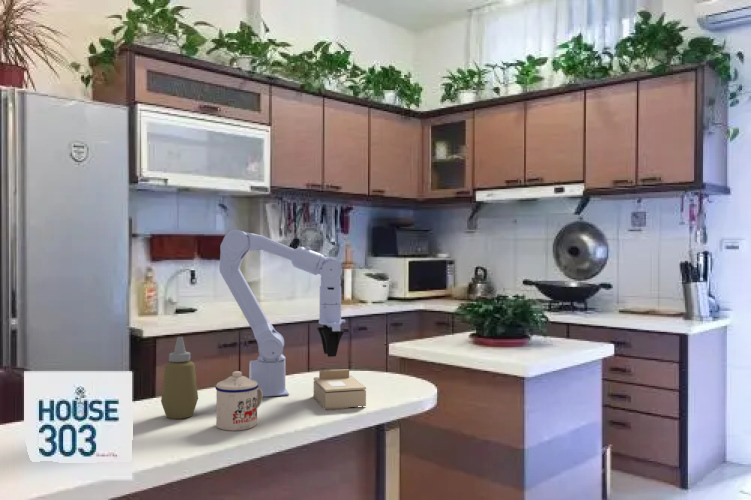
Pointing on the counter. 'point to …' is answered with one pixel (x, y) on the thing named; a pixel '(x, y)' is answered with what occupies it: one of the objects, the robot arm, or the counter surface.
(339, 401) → the box
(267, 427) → the counter surface
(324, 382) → the lid
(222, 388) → the teacup with lid
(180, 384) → the squeeze bottle
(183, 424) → the counter surface
